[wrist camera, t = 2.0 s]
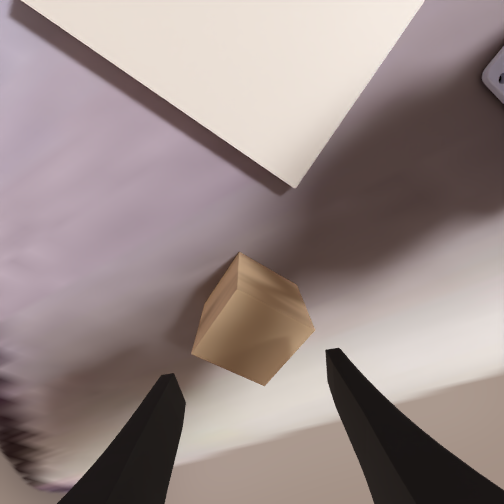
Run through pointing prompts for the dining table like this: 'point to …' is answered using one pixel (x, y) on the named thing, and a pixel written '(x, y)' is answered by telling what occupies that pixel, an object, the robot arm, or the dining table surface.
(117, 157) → the dining table surface
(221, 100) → the painted board
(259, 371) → the oak cube
